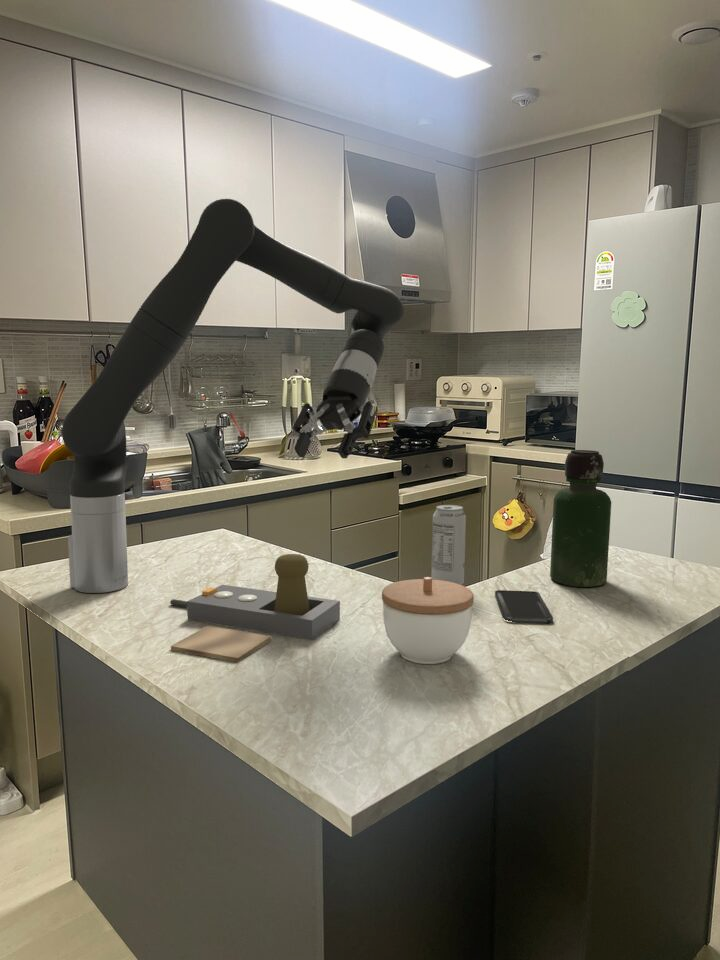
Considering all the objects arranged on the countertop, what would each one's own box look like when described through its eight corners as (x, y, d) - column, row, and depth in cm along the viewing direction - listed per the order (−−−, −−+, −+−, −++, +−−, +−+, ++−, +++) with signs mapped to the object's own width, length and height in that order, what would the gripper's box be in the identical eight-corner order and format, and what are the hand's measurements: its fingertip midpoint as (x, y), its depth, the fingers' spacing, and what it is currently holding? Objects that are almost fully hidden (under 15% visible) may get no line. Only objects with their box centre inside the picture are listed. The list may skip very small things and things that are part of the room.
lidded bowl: (381, 637, 106) (382, 565, 104) (466, 638, 105) (468, 566, 104) (380, 671, 93) (382, 590, 92) (477, 673, 93) (480, 592, 91)
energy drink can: (470, 587, 131) (473, 508, 129) (446, 593, 128) (448, 511, 126) (448, 580, 136) (450, 503, 134) (424, 585, 133) (426, 506, 130)
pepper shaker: (295, 633, 107) (295, 562, 106) (264, 625, 110) (263, 556, 109) (318, 621, 112) (318, 554, 111) (288, 614, 115) (288, 548, 114)
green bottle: (539, 579, 137) (545, 450, 133) (568, 570, 144) (575, 447, 140) (588, 592, 129) (595, 455, 126) (616, 581, 136) (624, 451, 133)
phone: (504, 617, 113) (494, 589, 127) (504, 624, 113) (494, 595, 128) (555, 619, 112) (538, 591, 127) (554, 626, 112) (538, 597, 127)
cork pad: (171, 649, 100) (170, 645, 100) (207, 629, 108) (207, 625, 108) (238, 662, 96) (238, 658, 96) (271, 640, 104) (271, 636, 104)
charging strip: (151, 613, 115) (151, 592, 115) (188, 596, 124) (188, 576, 124) (312, 639, 104) (312, 616, 104) (339, 618, 114) (339, 597, 113)
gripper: (308, 369, 127) (275, 441, 119) (377, 365, 120) (347, 442, 112) (326, 396, 132) (295, 467, 125) (394, 394, 125) (366, 469, 118)
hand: (320, 455), depth 118 cm, fingers open, 8 cm apart
